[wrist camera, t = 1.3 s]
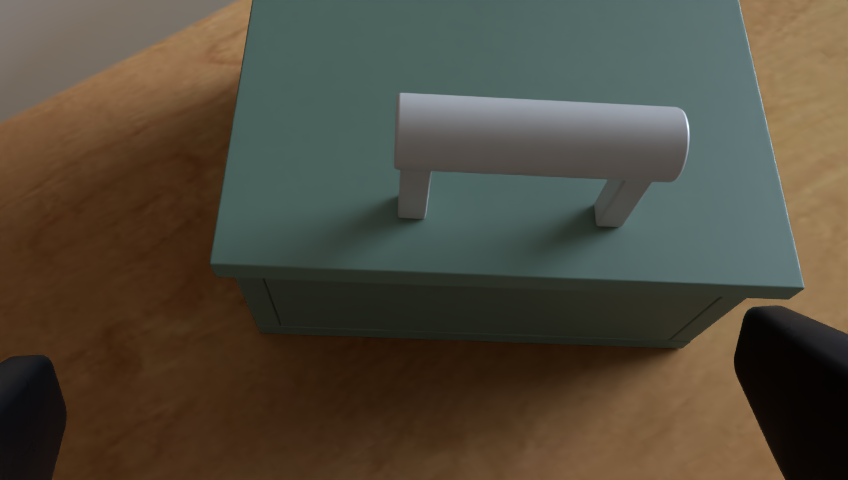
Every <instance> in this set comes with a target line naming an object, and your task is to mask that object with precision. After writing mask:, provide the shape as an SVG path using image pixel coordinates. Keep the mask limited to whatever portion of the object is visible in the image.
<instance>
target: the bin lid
mask: <svg viewBox="0 0 848 480" xmlns="http://www.w3.org/2000/svg"><path fill="white" fill-rule="evenodd" d="M209 264H210V266H211V268H212V270H213V272H214V274H215V276H217V277H237V278H262V279H288V280H313V281H338V282H363V283H388V284H413V285H438V286H463V287H488V288H513V289H538V290H563V291H588V292H613V293H638V294H663V295H688V296H713V297H738V298H763V299H790V298H792V297H793V296H794V295H796V294H797V293H799V292H800V291H802V290H803V289H804V283H803V278H802V274H801V270H800V265H799V261H798V257H797V252H796V248H795V244H794V239H793V235H792V230H791V226H790V222H789V217H788V213H787V209H786V204H785V200H784V196H783V191H782V187H781V183H780V178H779V174H778V169H777V165H776V161H775V156H774V152H773V148H772V143H771V139H770V135H769V130H768V126H767V122H766V117H765V113H764V108H763V104H762V100H761V95H760V91H759V87H758V82H757V78H756V74H755V69H754V65H753V61H752V56H751V52H750V47H749V43H748V39H747V34H746V30H745V26H744V21H743V17H742V13H741V8H740V4H739V0H252V6H251V12H250V19H249V25H248V31H247V37H246V43H245V49H244V55H243V61H242V67H241V73H240V80H239V86H238V92H237V98H236V104H235V110H234V116H233V122H232V128H231V135H230V141H229V147H228V153H227V159H226V165H225V171H224V177H223V183H222V189H221V196H220V202H219V208H218V214H217V220H216V226H215V232H214V238H213V244H212V250H211V257H210V263H209Z"/></svg>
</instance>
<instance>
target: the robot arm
mask: <svg viewBox="0 0 848 480" xmlns="http://www.w3.org/2000/svg"><path fill="white" fill-rule="evenodd" d="M734 368H735V372H736V375H737V378H738V380H739V382H740V384H741V386H742V389H743V391H744V393H745V395H746V397H747V400H748V402H749V404H750V406H751V408H752V410H753V413H754V415H755V417H756V419H757V421H758V424H759V426H760V428H761V430H762V432H763V435H764V437H765V439H766V441H767V443H768V446H769V448H770V450H771V452H772V454H773V456H774V458H775V460H776V462H777V464H778V466H779V468H780V470H781V472H782V474H783V476H784V478H785V480H848V334H846V333H844V332H842V331H839V330H837V329H835V328H832V327H830V326H828V325H825V324H823V323H820V322H818V321H816V320H813V319H811V318H809V317H806V316H804V315H802V314H799V313H797V312H795V311H792V310H790V309H788V308H785V307H782V306H762V307H752V308H751V309H749V310H748V311H747V312H746V314H745V316H744V318H743V322H742V326H741V331H740V335H739V339H738V343H737V347H736V351H735V355H734ZM66 420H67V411H66V405H65V402H64V398H63V395H62V392H61V389H60V386H59V382H58V379H57V376H56V373H55V369H54V366H53V364H52V362H51V360H50V359H49V358H48V357H47V356H45V355H26V356H13V357H10V358H8V359H6V360H4V361H3V362H1V363H0V480H52V477H53V474H54V470H55V466H56V462H57V458H58V454H59V450H60V446H61V442H62V438H63V435H64V431H65V427H66Z"/></svg>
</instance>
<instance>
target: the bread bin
mask: <svg viewBox="0 0 848 480" xmlns="http://www.w3.org/2000/svg"><path fill="white" fill-rule="evenodd" d="M235 279H236V281H237V283H238V285H239V288H240V290H241V292H242V294H243V296H244V298H245V300H246V303H247V305H248V307H249V309H250V311H251V313H252V315H253V318H254V320H255V322H256V324H257V327H258V329H259V331H260V333H271V334H299V335H326V336H354V337H381V338H408V339H436V340H463V341H491V342H518V343H545V344H573V345H600V346H628V347H655V348H683V347H684V346H686V345H687V344H688V343H690V341H691V340H693V339H694V338H695V337H697V336H698V335H699V334H701V333H702V332H703V331H704V330H706V329H707V328H708V327H710V326H711V325H712V324H713V323H715V322H716V321H717V320H719V319H720V318H721V317H723V316H724V315H725V314H726V313H728V312H729V311H730V310H732V309H733V308H734V307H735V306H737V305H738V304H739V303H741V302H742V301H743V300H745V299H746V298H738V297H713V296H688V295H663V294H638V293H613V292H588V291H563V290H538V289H513V288H488V287H463V286H438V285H413V284H388V283H363V282H338V281H313V280H288V279H262V278H237V277H235Z"/></svg>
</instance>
